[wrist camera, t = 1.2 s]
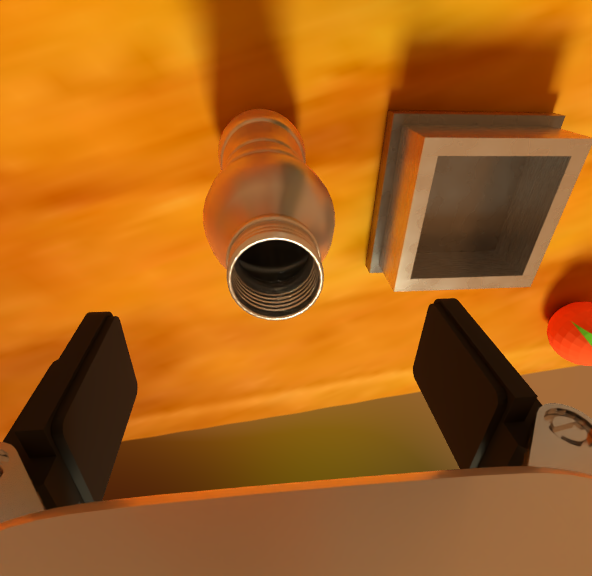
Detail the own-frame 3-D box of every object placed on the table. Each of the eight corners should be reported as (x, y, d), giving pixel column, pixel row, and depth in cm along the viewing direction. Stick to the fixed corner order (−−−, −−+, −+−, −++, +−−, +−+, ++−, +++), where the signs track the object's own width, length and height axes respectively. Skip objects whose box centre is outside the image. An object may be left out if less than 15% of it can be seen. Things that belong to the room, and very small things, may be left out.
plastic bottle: (283, 89, 28) (331, 159, 12) (312, 173, 32) (380, 318, 15) (205, 122, 29) (145, 234, 12) (242, 201, 33) (235, 368, 16)
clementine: (516, 317, 44) (558, 361, 38) (569, 274, 41) (623, 313, 35) (553, 345, 47) (597, 389, 41) (604, 306, 44) (659, 348, 38)
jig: (388, 110, 30) (415, 124, 25) (552, 112, 31) (610, 126, 26) (365, 265, 38) (383, 299, 33) (498, 261, 39) (535, 294, 34)
